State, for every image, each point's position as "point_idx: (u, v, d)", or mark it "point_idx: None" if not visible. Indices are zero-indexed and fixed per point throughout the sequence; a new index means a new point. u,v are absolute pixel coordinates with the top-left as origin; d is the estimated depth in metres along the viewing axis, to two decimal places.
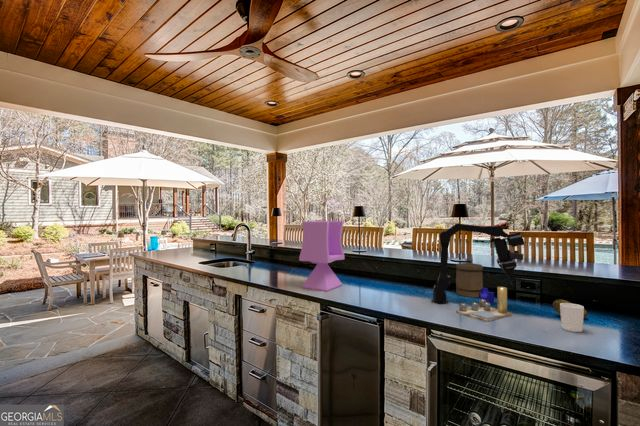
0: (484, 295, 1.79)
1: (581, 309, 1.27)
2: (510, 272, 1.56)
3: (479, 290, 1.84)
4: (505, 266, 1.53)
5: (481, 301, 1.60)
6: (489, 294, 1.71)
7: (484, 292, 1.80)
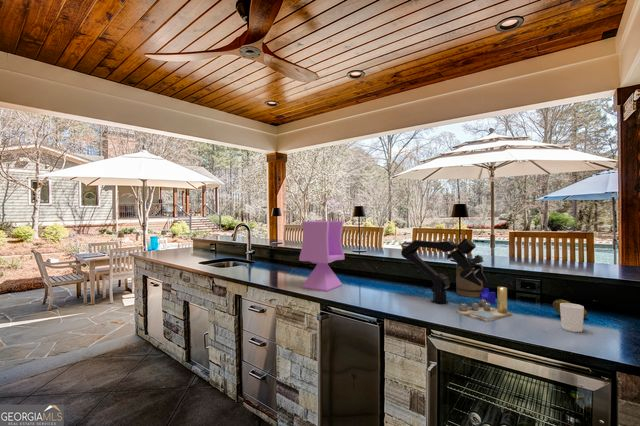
0: (485, 295, 1.79)
1: (581, 309, 1.27)
2: (473, 279, 1.55)
3: (479, 290, 1.84)
4: (462, 275, 1.55)
5: (481, 301, 1.60)
6: (490, 294, 1.71)
7: (485, 292, 1.80)
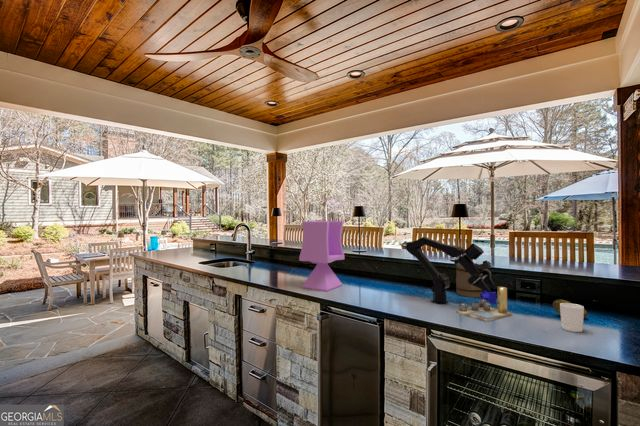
0: (486, 295, 1.79)
1: (581, 309, 1.27)
2: (482, 285, 1.52)
3: (479, 290, 1.84)
4: (470, 282, 1.53)
5: (481, 301, 1.60)
6: (491, 294, 1.71)
7: (486, 292, 1.80)
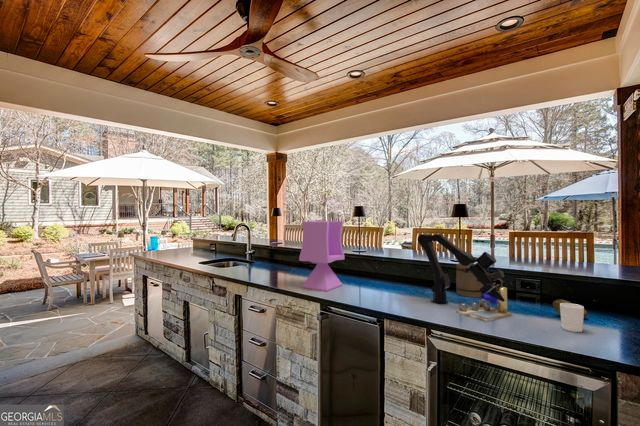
0: (487, 295, 1.79)
1: (581, 309, 1.27)
2: (496, 294, 1.50)
3: (479, 290, 1.84)
4: (483, 292, 1.49)
5: (481, 301, 1.60)
6: None
7: (487, 292, 1.80)
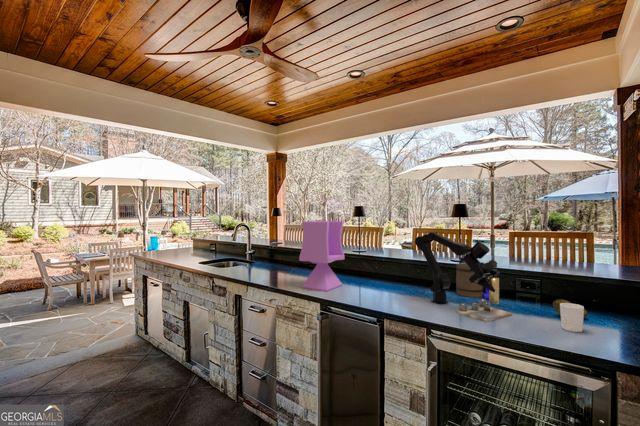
0: (488, 295, 1.79)
1: (581, 309, 1.27)
2: (486, 284, 1.48)
3: (479, 290, 1.84)
4: (471, 281, 1.48)
5: (481, 301, 1.60)
6: None
7: (488, 292, 1.80)
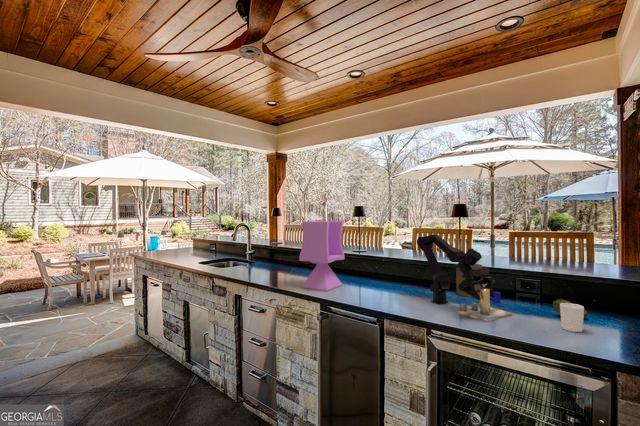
0: None
1: (581, 309, 1.27)
2: (472, 292, 1.46)
3: (479, 290, 1.84)
4: (460, 287, 1.48)
5: None
6: (495, 294, 1.71)
7: None
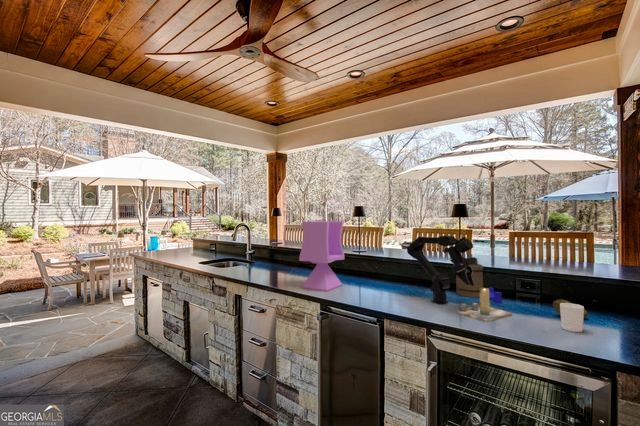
0: (490, 295, 1.79)
1: (581, 309, 1.27)
2: (463, 276, 1.55)
3: (479, 290, 1.84)
4: (454, 270, 1.54)
5: None
6: (497, 294, 1.71)
7: (490, 292, 1.80)
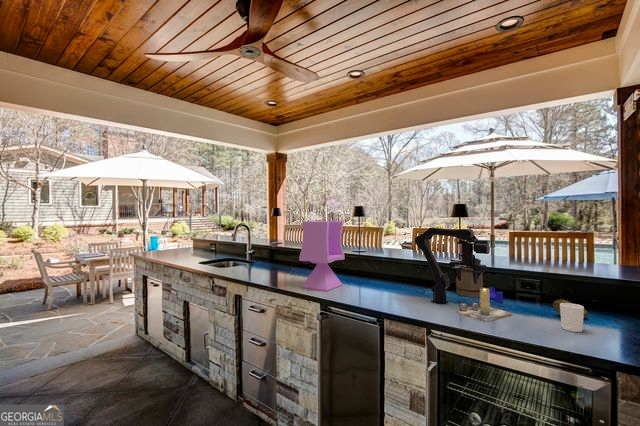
0: (491, 295, 1.79)
1: (581, 309, 1.27)
2: (477, 276, 1.58)
3: (479, 290, 1.84)
4: (481, 269, 1.54)
5: None
6: (498, 294, 1.71)
7: (491, 292, 1.81)
